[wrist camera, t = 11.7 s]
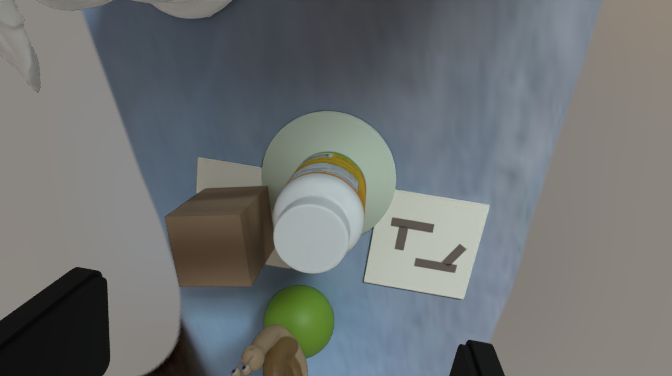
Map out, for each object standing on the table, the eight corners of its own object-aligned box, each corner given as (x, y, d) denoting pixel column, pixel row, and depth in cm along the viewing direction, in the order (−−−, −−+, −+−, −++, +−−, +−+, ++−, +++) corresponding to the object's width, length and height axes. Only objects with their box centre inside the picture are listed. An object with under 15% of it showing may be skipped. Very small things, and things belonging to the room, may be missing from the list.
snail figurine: (314, 252, 33) (281, 356, 21) (348, 317, 34) (334, 445, 23) (255, 275, 34) (195, 385, 23) (290, 337, 35) (250, 469, 24)
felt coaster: (269, 100, 30) (268, 101, 29) (408, 122, 29) (408, 123, 29) (257, 227, 33) (256, 229, 32) (382, 249, 32) (383, 251, 32)
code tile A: (381, 187, 31) (381, 187, 30) (489, 204, 30) (489, 205, 30) (363, 280, 33) (363, 281, 33) (463, 297, 33) (463, 299, 33)
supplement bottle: (343, 231, 32) (329, 303, 22) (281, 195, 31) (242, 254, 22) (380, 173, 30) (382, 226, 21) (316, 135, 30) (289, 171, 20)
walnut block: (205, 188, 32) (164, 216, 26) (267, 185, 31) (239, 214, 25) (215, 247, 33) (179, 286, 28) (275, 246, 33) (251, 286, 27)
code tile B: (198, 156, 31) (197, 157, 31) (302, 174, 31) (301, 174, 31) (194, 250, 34) (193, 252, 34) (290, 267, 33) (290, 269, 33)
